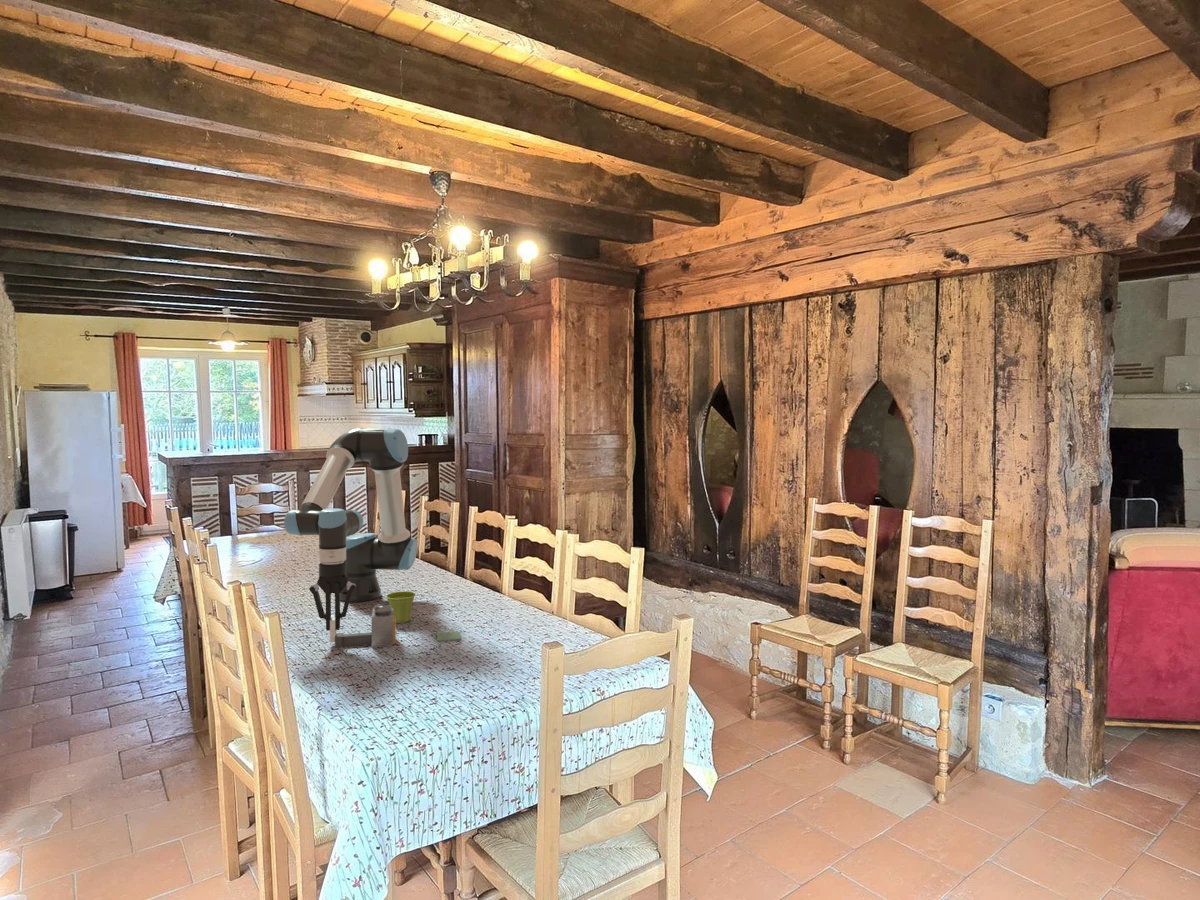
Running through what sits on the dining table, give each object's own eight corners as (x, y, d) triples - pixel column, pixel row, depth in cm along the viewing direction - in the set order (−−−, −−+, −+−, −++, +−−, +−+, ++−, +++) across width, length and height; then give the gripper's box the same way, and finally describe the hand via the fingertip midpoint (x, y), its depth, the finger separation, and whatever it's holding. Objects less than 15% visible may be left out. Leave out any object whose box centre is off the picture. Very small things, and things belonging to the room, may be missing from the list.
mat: (436, 634, 220) (436, 633, 220) (459, 633, 222) (459, 631, 222) (437, 641, 214) (437, 640, 214) (461, 640, 215) (461, 638, 215)
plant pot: (385, 625, 229) (385, 599, 228) (386, 617, 238) (386, 592, 237) (415, 623, 231) (415, 597, 231) (415, 615, 240) (415, 590, 240)
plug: (336, 642, 211) (336, 619, 211) (395, 638, 216) (395, 616, 215) (334, 647, 207) (334, 624, 207) (395, 643, 211) (395, 620, 211)
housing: (373, 638, 216) (372, 602, 216) (393, 636, 218) (393, 601, 217) (371, 647, 208) (371, 610, 207) (392, 646, 209) (392, 609, 209)
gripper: (307, 565, 202) (307, 646, 204) (355, 563, 206) (355, 643, 207) (310, 560, 210) (311, 638, 211) (357, 558, 213) (357, 635, 214)
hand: (333, 640), depth 209 cm, fingers closed
